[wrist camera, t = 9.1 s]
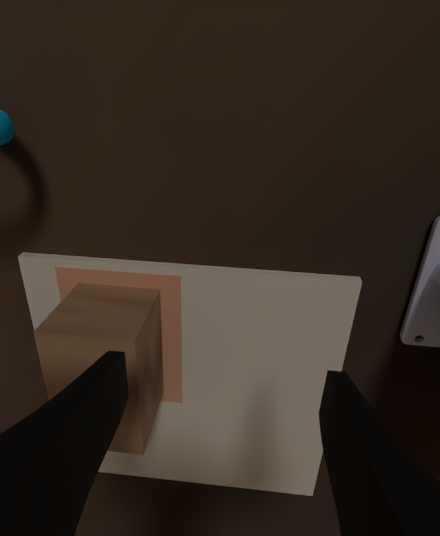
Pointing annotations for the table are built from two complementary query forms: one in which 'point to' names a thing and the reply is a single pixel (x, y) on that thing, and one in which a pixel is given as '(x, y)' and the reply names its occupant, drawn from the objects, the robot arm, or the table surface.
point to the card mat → (224, 365)
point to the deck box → (108, 338)
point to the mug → (5, 128)
